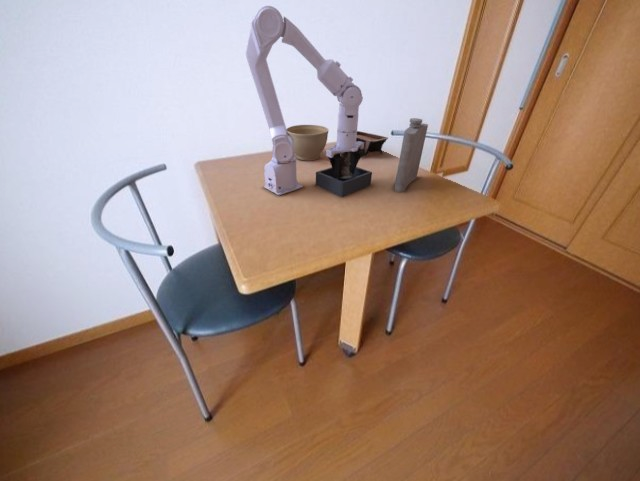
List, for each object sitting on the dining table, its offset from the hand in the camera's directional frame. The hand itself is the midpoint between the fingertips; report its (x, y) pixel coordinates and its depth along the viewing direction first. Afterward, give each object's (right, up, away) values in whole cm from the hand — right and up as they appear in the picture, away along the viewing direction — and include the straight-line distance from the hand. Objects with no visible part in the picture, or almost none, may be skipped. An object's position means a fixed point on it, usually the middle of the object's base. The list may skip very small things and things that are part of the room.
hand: (343, 175), depth 91 cm
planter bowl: (-13, +13, +25) cm, 31 cm away
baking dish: (+11, +17, +32) cm, 38 cm away
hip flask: (+21, -2, +5) cm, 21 cm away
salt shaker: (0, -3, +2) cm, 4 cm away
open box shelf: (0, -3, +2) cm, 3 cm away
